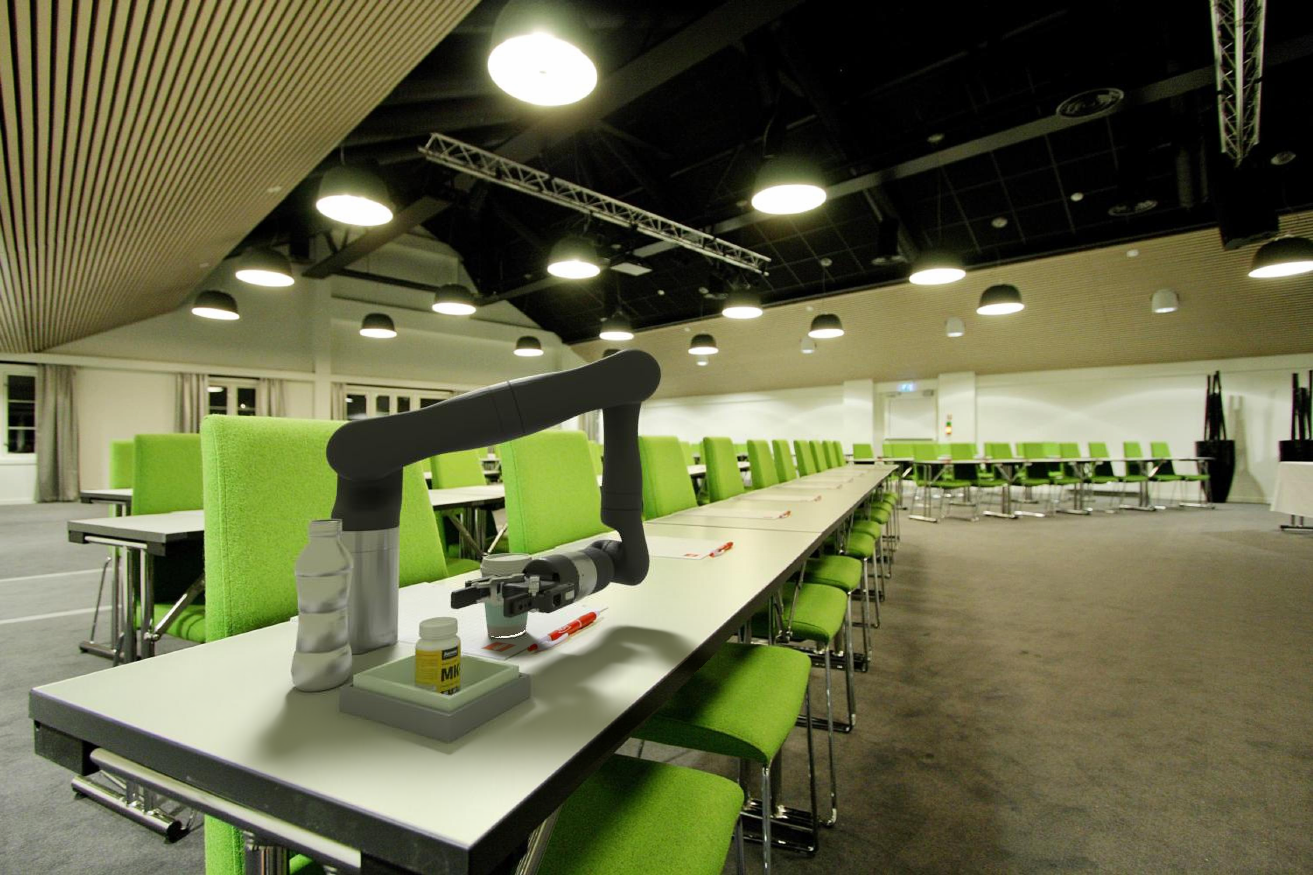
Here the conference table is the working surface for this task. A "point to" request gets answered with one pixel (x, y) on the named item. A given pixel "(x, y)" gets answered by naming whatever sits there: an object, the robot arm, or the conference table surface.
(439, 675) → the supplement bottle
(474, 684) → the sage crate
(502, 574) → the coffee cup
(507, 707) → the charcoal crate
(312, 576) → the plastic bottle
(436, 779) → the conference table surface
